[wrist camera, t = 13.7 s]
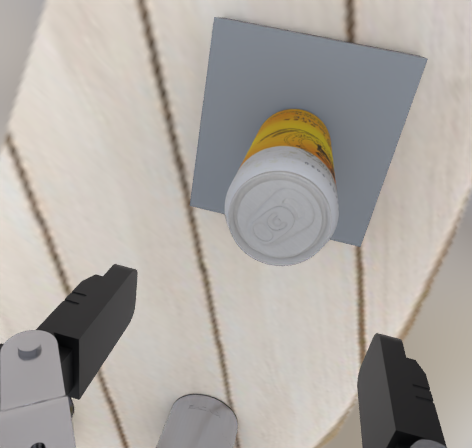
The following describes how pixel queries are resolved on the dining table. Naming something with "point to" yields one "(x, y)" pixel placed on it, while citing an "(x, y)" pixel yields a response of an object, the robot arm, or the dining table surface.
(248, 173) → the beer can
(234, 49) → the stand
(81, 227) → the dining table surface
